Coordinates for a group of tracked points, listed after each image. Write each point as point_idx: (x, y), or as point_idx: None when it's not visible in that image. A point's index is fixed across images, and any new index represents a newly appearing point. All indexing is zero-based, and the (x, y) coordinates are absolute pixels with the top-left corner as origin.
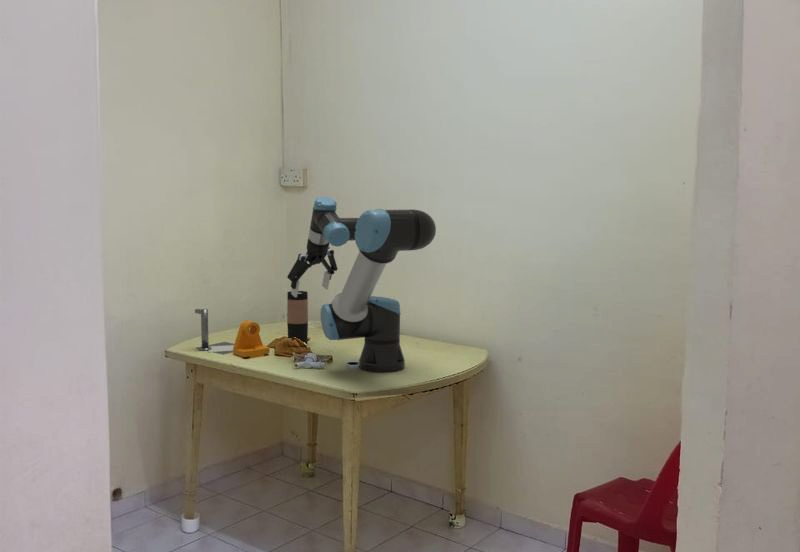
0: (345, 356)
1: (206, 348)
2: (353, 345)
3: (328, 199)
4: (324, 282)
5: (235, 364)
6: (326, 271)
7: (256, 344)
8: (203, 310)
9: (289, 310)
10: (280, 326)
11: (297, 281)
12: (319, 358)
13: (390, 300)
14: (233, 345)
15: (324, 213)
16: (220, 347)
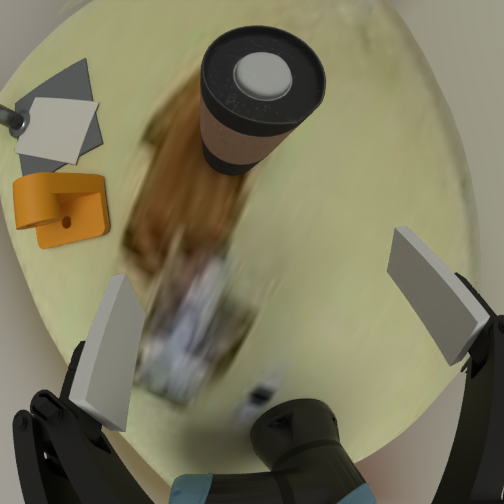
0: (279, 339)
1: (17, 130)
2: (356, 237)
3: None
4: (412, 271)
5: (29, 284)
6: (475, 332)
7: (79, 197)
8: None
9: (201, 116)
10: None
11: (106, 427)
12: (212, 331)
13: None
14: (76, 103)
15: None
16: (46, 115)
